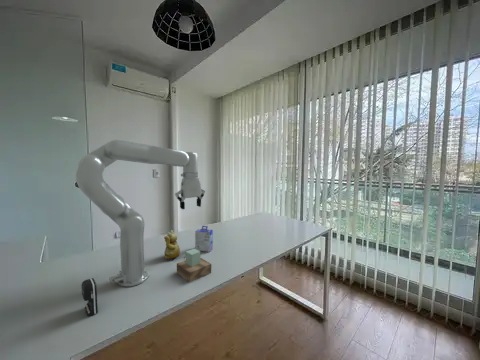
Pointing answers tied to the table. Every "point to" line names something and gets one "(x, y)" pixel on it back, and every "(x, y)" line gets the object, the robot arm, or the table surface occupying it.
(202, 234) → the ink cartridge box
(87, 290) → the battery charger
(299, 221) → the table surface
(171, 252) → the decorative figurine
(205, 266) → the walnut block
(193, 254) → the sage block
